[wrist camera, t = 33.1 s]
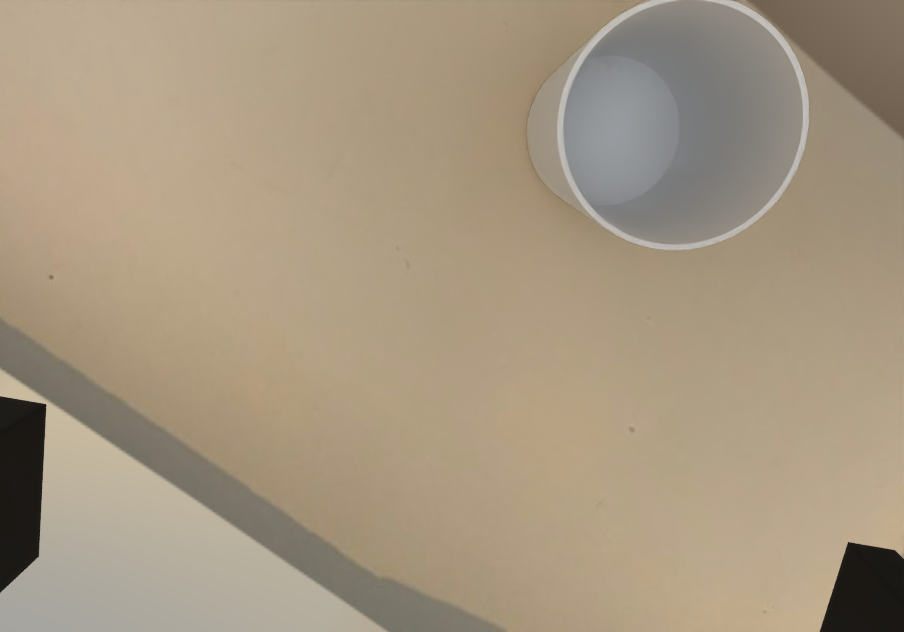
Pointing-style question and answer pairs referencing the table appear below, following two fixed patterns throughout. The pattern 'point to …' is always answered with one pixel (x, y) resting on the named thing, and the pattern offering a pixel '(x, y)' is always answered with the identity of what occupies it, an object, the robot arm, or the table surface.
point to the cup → (673, 123)
